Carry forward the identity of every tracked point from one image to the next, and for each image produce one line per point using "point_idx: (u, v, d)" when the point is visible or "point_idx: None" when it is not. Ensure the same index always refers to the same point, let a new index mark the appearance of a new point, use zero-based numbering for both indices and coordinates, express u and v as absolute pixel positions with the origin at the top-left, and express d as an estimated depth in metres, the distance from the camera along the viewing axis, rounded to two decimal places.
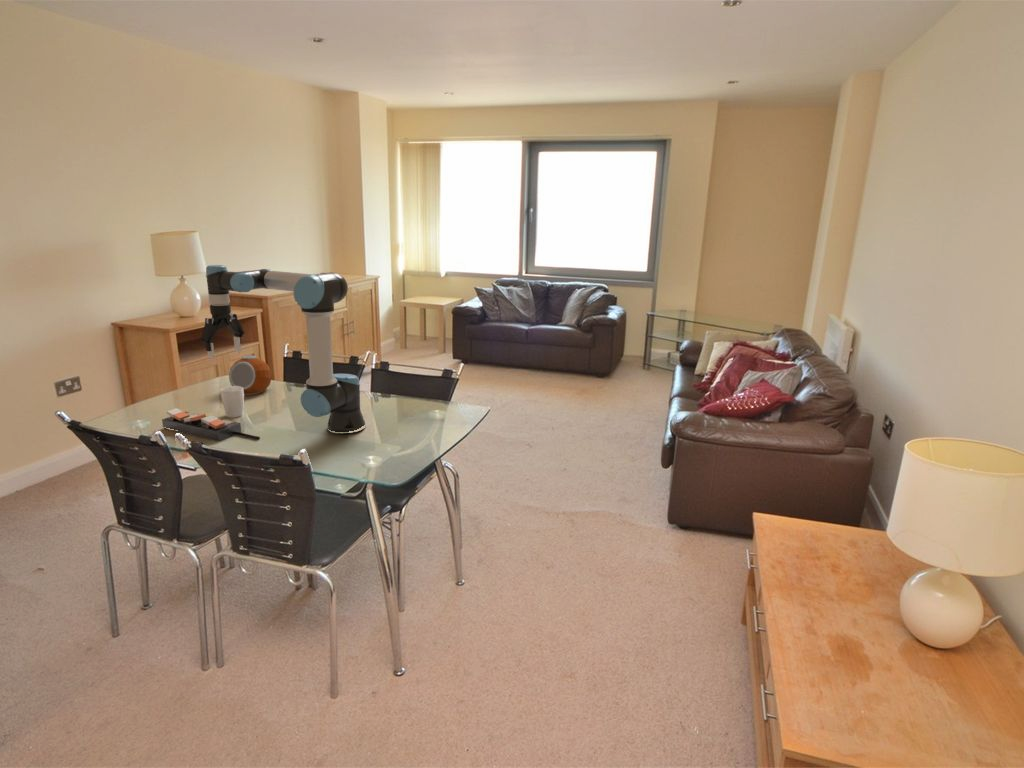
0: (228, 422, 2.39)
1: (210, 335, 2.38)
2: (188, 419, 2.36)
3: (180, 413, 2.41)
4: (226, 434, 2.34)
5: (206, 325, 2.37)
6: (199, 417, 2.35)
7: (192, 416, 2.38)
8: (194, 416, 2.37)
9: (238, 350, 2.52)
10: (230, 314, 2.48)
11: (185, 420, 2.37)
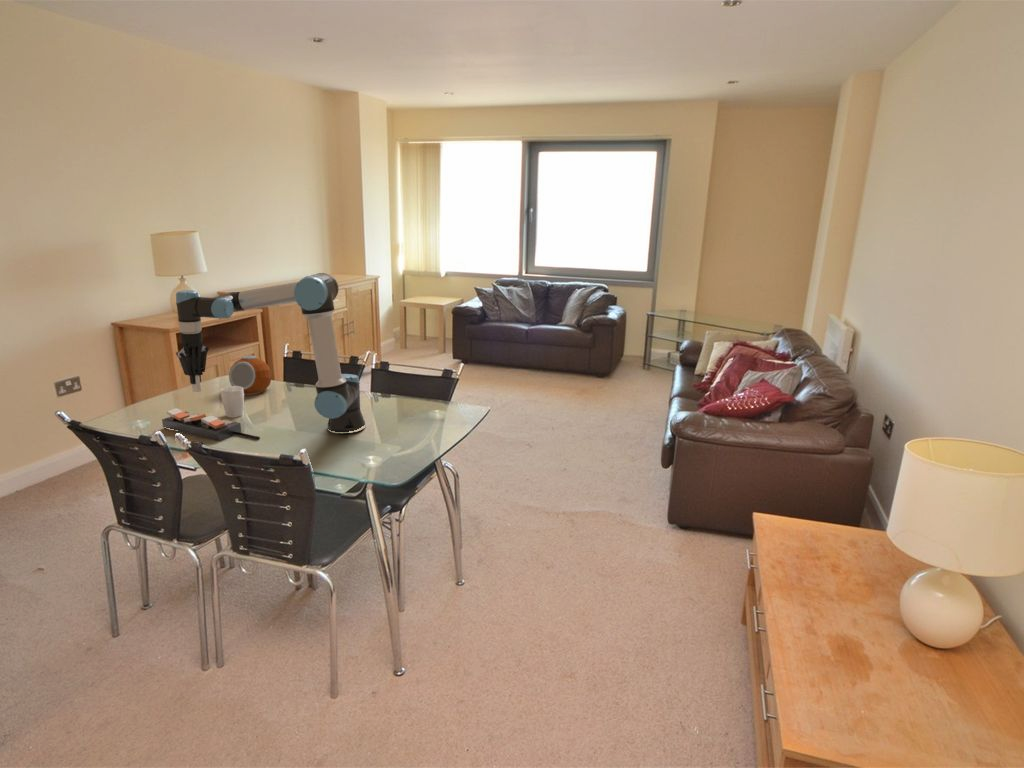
0: (228, 422, 2.39)
1: (191, 368, 2.28)
2: (188, 419, 2.36)
3: (180, 413, 2.41)
4: (226, 434, 2.34)
5: (181, 359, 2.25)
6: (199, 417, 2.35)
7: (192, 416, 2.38)
8: (194, 416, 2.37)
9: None
10: None
11: (185, 420, 2.37)
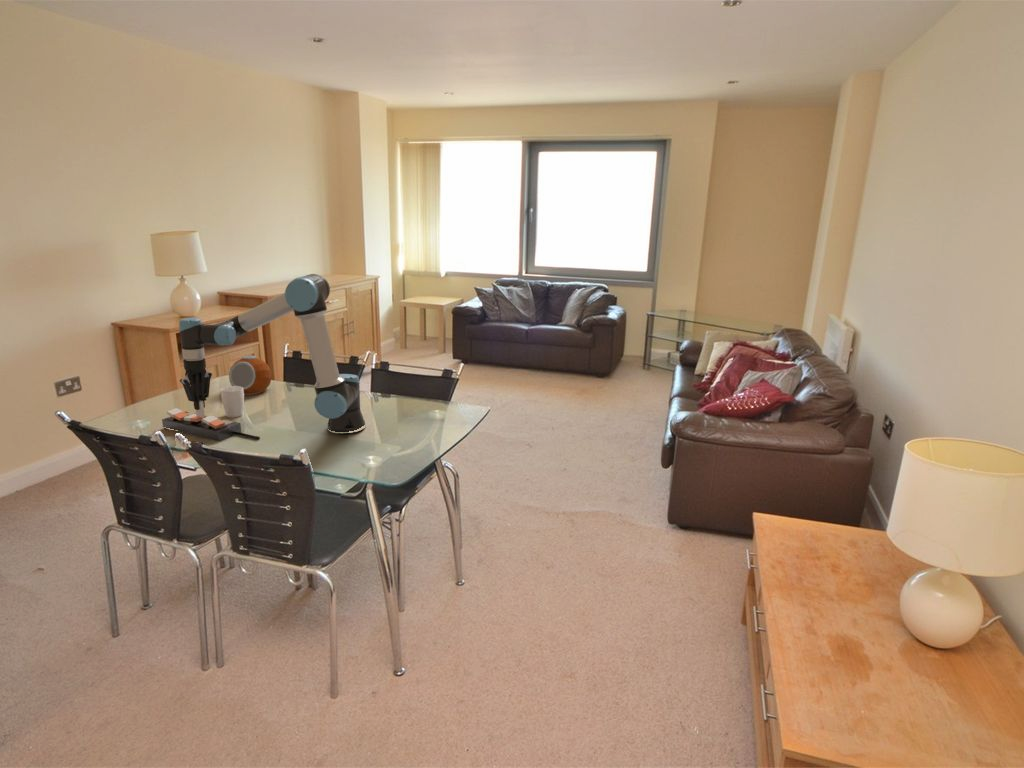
0: (228, 422, 2.39)
1: (194, 394, 2.31)
2: (188, 419, 2.36)
3: (180, 413, 2.41)
4: (226, 434, 2.34)
5: (185, 386, 2.28)
6: (200, 419, 2.36)
7: (192, 415, 2.38)
8: (194, 416, 2.37)
9: None
10: (206, 372, 2.36)
11: (185, 419, 2.36)
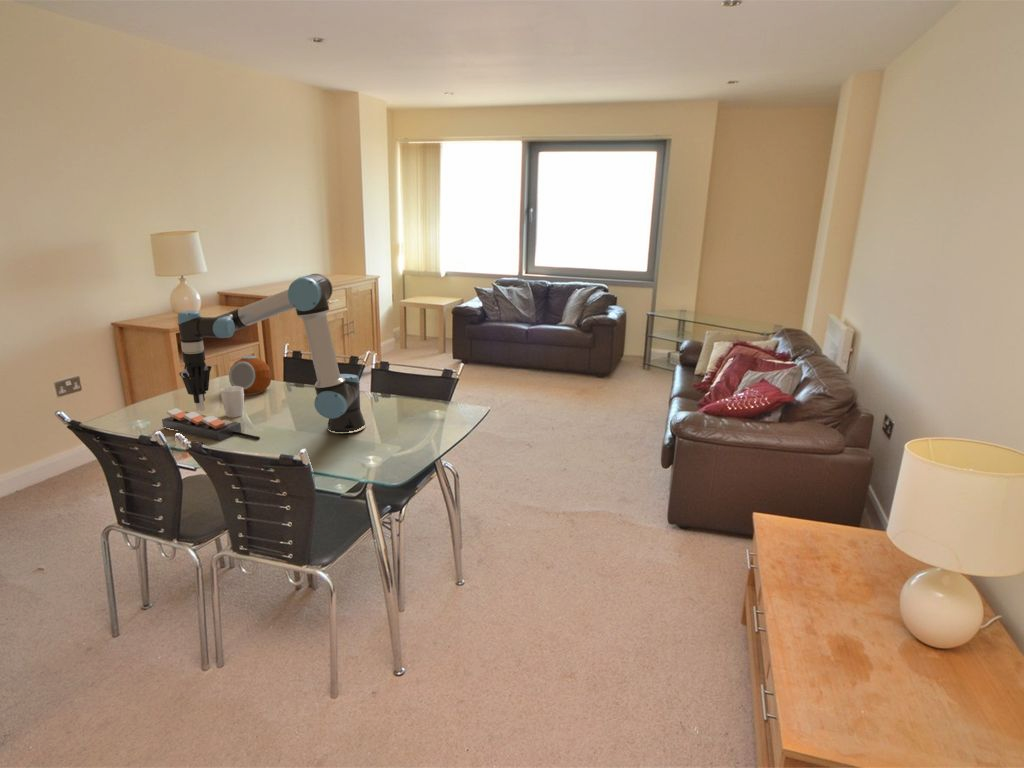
0: (228, 422, 2.39)
1: (194, 387, 2.31)
2: (188, 418, 2.36)
3: (180, 413, 2.41)
4: (226, 434, 2.34)
5: (184, 379, 2.27)
6: (200, 422, 2.36)
7: (193, 414, 2.38)
8: (195, 417, 2.37)
9: None
10: None
11: (185, 417, 2.36)
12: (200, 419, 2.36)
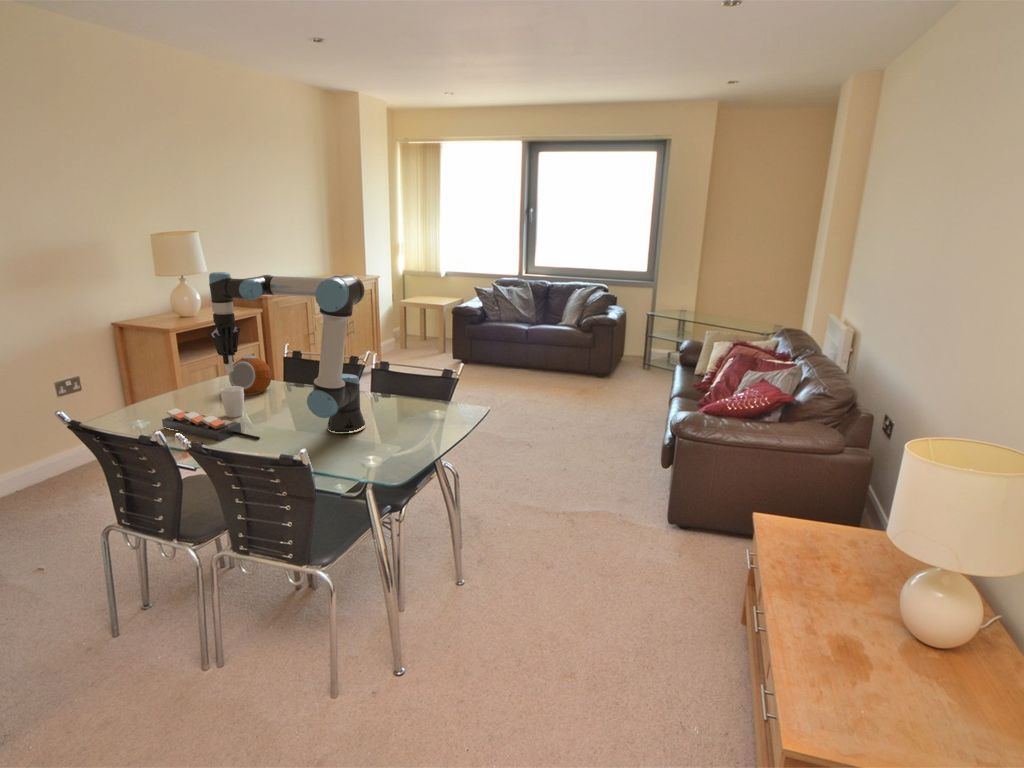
0: (228, 422, 2.39)
1: (224, 348, 2.34)
2: (188, 418, 2.36)
3: (180, 413, 2.41)
4: (226, 434, 2.34)
5: (215, 339, 2.30)
6: (200, 422, 2.36)
7: (193, 414, 2.38)
8: (195, 417, 2.37)
9: None
10: None
11: (185, 417, 2.36)
12: (200, 419, 2.36)
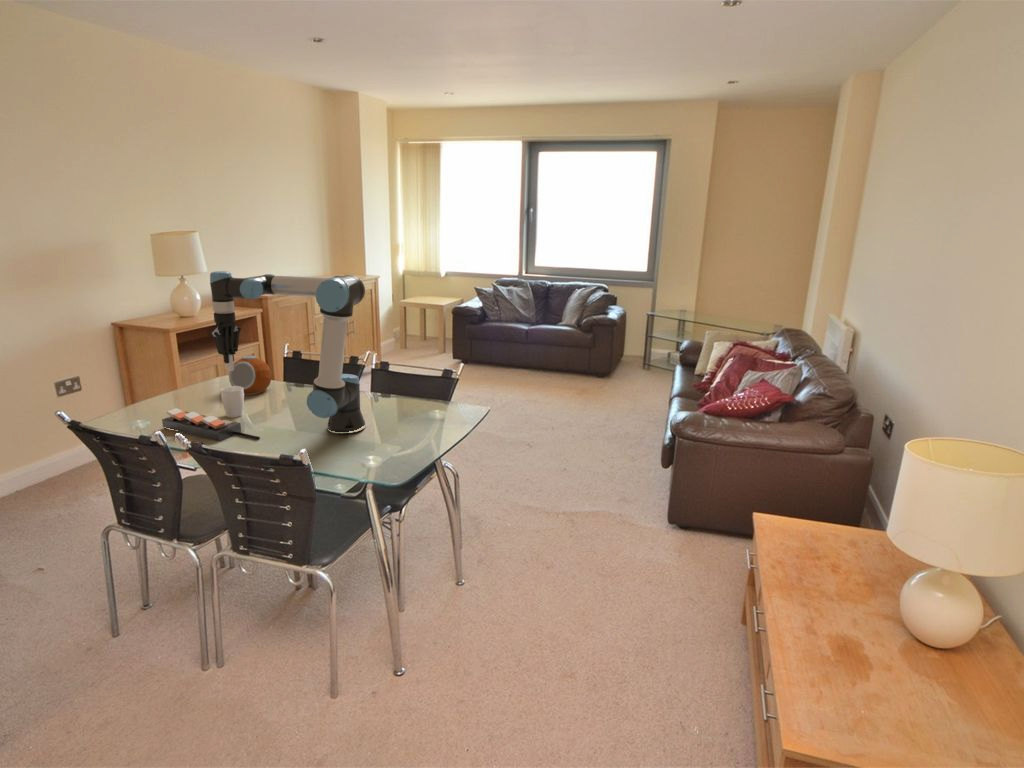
0: (228, 422, 2.39)
1: (224, 347, 2.34)
2: (188, 418, 2.36)
3: (180, 413, 2.41)
4: (226, 434, 2.34)
5: (215, 338, 2.31)
6: (200, 422, 2.36)
7: (193, 414, 2.38)
8: (195, 417, 2.37)
9: None
10: None
11: (185, 417, 2.36)
12: (200, 419, 2.36)
